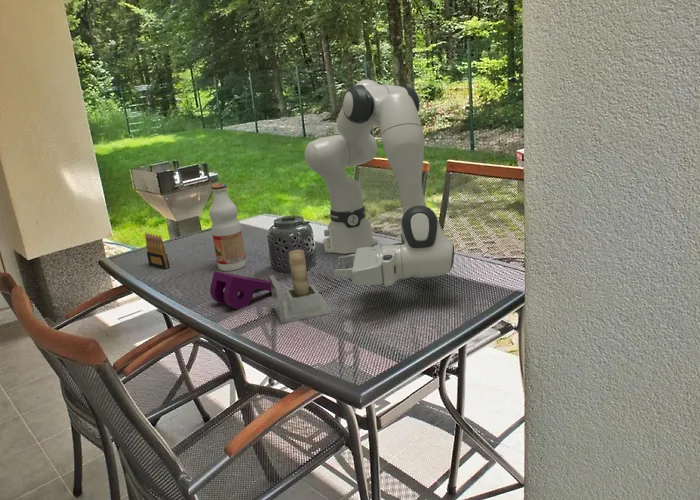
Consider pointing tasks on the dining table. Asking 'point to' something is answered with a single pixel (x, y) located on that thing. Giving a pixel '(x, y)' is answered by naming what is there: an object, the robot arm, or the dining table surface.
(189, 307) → the dining table surface
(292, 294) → the cup bracket
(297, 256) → the tan wooden cylinder
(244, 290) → the mounting bracket
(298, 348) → the dining table surface
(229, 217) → the fruit juice
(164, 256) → the ammunition clip
